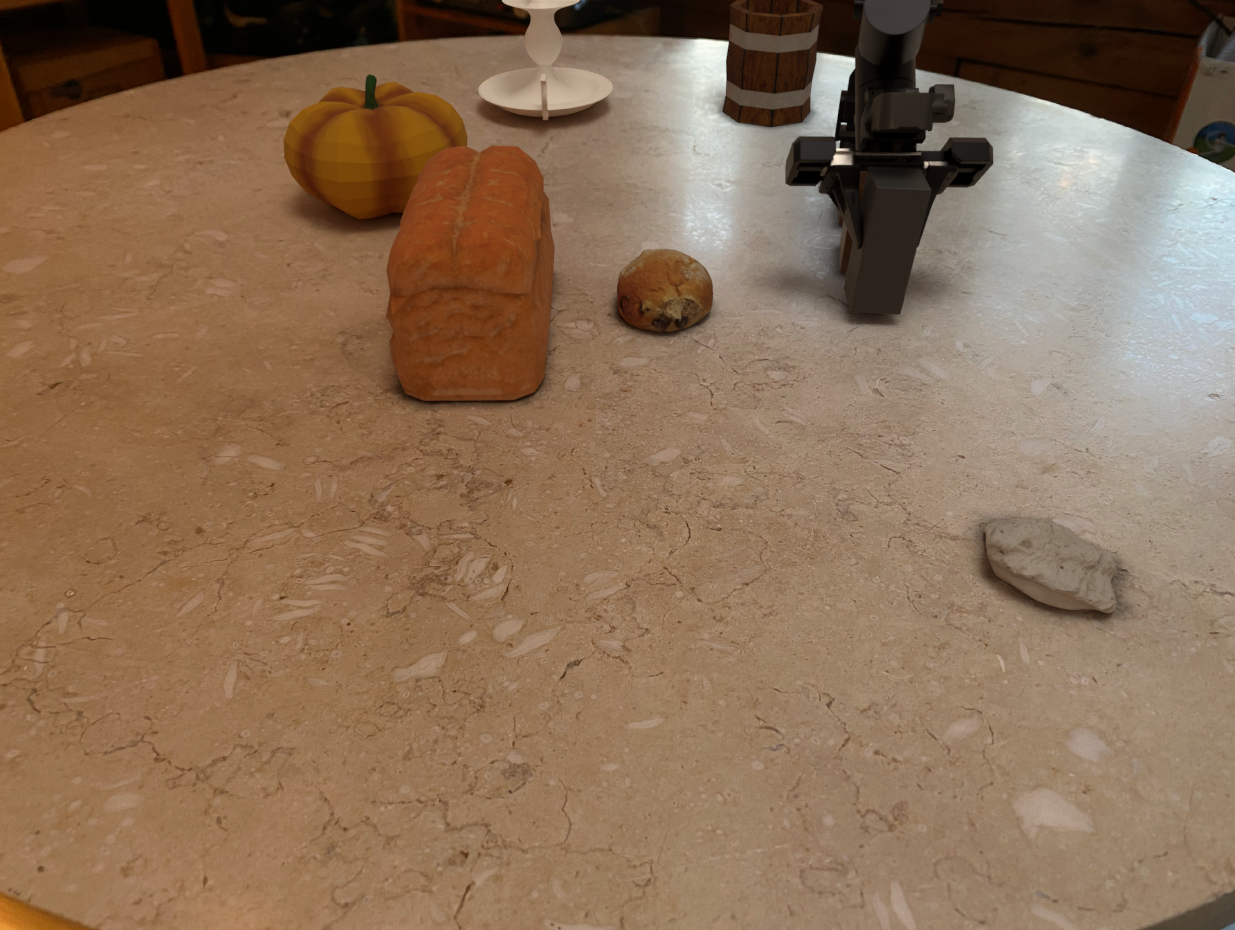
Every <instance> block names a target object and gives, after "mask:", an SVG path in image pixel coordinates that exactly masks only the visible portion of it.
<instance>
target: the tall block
mask: <svg viewBox="0 0 1235 930" xmlns="http://www.w3.org/2000/svg"><path fill="white" fill-rule="evenodd" d="M930 194H931V188H930V186H929V184H928V182H927V181H926V179H925V177H924V175H923V173H922V171H921V169H916V168H893V167H871V166H868V168H867V173H866V178H865V183H864V188H863V193H862V198H861V213H862V223H863V243H862V247H861V248H860V249H856V247H855V245H854V243H852V248H851V253H850V257H849V262H848V267H847V272H846V273H845V278H844V283H843V286H842V287H843V292H844V295H845V298H846V302H847V306H848V309H849V312H850V313H853V314H854V313H855V314H856V313H857V314H858V313H859V314H876V315H895V316H896V315H901V313H902V311H903V305H904V303H905V302H904V301H905V298H906V294H907V290H908V285H909V281H910V277H911V273H912V271H913V265H914V262H915V261H914V260H915V257H916V254H917V250H918V248H917V246H918V242H919V238H920V234H921V230H922V226H923V222H924V218H925V214H926V210H927V206H928V202H929V198H930ZM918 247H919V246H918Z"/></svg>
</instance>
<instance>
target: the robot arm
mask: <svg viewBox="0 0 1235 930" xmlns="http://www.w3.org/2000/svg"><path fill="white" fill-rule="evenodd" d="M943 7H944V0H853V8H852V9H853V10H852V17H851V19H852V20H859V23H858V26H859V34H858V43H857V45H856V46H855V49H854V69H853V70H852V72H851V73H850V74H849V77H848V82H847V89H841V90H840V96H839V102H838V109H837V117H836V125H835V132H834V136H831V135H830V136H827V135H825V136H823V135H821V136H819V135H817V136H816V135H815V136H814V135H813V136H812V135H811V136H810V135H798V136H797V137H796V138H795V140H794V141H793V142H792V143H791V146H790V149H789V152H788V154H787V157H786V160H785V167H784V168H785V169H784V176H785V177H784V178H785V179H784V180H785V181H784V182H785V184H784V185H787V186H788V187H817V186H818V185H819V186H818V194H820V195H827V196H828V197H829V199H830V200H831V202H832V203H833V205H834V207H835V208H836V210H837V212H838V211H839V213H840V215H841V217H842V219H843V221H844V223H845V225H846V227H847V230H848V232H849V234H850V236H851V238H852V241H853V243H854V245H855V247H856V249H860V248H861V247H862V243H863V223H862V213H861V203H860V193H859V180H860V171H867V168H868V166H871V167H893V168H916V169H921V171H922V173H923V175H924V177H925V179H926V181H927V182H928V184H929V186H930V188H931V194H930V198H929V202H928V206H927V210H926V214H925V218H924V222H923V226H922V230H921V234H920V238H919V242H918V246H917V249H918V248H919V246H920V243H921V240H922V237H923V234H924V231H925V229H926V226H927V222H928V220H929V216H930V213H931V211H932V208H933V204H934V202H935V200H936V198H937V196H938V195H941V194H943V193H944V191H945V190H946V189H947V188H961V189H962V188H966V189H967V188H970V187H973V186H976V184H977V183H978V182H979V181H980V180H981V179H982V177H983V176H984V175H985V174H987V172H988V171H989V170H990V168H991V167H992V166H993V165H994V146H993V145H992V144H991V143H990V142H989V140H988V138H987V137H973V136H971V137H970V136H969V137H965V136H964V137H956V136H955V137H953V136H952V137H951V136H950V137H949V138H947V140H946V142H945V143H944V145H943V146H942V148H941V149H940V150H918V144H919V145H921V144H923V143H924V142H925V140H926V138H927V132H932V131H933V129H934V128H933V127H934V124H946V123H950V122H951V121H952V120H953V118H954V116H955V110H956V92H955V89H956V88H955V84H954V83H935V84H933V85H932V86H930V87H929V88H928V91H927V92H920V88H919V87H917V70H916V69H917V68H916V67H917V65H916V62H917V61H916V58H917V57H916V56H917V55H918V53H919V51H920V49H921V46H922V42H923V38H924V34H925V30H926V27H927V24H934V21H935V18H936V17H937V18H940V17H942V12H943ZM837 142H839V144H838V145H839V146H838V147H837Z"/></svg>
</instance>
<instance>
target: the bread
mask: <svg viewBox="0 0 1235 930" xmlns="http://www.w3.org/2000/svg"><path fill="white" fill-rule="evenodd" d="M544 178H545V177H544V176H543V174H542V171H541V170H540V168H539V166H538V163H537V162H536V160H535V159H534V158H533V157H531V156H530V155H529V154H528V153H527V152H526V151H524V150H523V149H521V148H520V147H519V146H518V145H490V146H489V147H486V148H485V149H482V150H481V151H478V150H476V149H473V148H471V147H469V146H468V145H467V146H459V147H450V148H445V149H443V150H442V151H440V152H439V153H437V154H436V155H435V156H433V157H432V158H430V159H429V160H428V161H427V163H426V164H425V166H424V168H423V169H422V171H421V173H420V174H419V176H418V179H417V184H416V185H414V187H413V190H412V193H411V195H410V198H409V200H408V202H407V205H406V208H405V210H404V213H402V216H401V218H400V221H399V227H400V228H399V230H398V231H397V233H396V236H395V238H394V240H393V243H392V245H391V248H390V251H389V255H388V260H387V265H386V270H385V271H386V276H387V282H388V288H389V296H388V303H387V309H386V313H385V317H386V319H387V321H388V323H389V325H390V327H391V329H392V330H393V331H392V333H391V336H390V339H389V350H390V352H389V353H390V357H391V361H392V363H393V366H394V369H395V372H396V374H397V377H398V379H399V382H400V384H401V387H402V389H403V391H404V393H405V394H406V395H408V396H410V397H413V398H416V399H418V400H421V401H426V402H427V401H431V402H433V401H436V402H437V401H515V400H517V399H521V398H522V397H525V396H528V395H530V394H532V393H535V392H536V391H537V389H538V388H539V387H540V385H541V383H542V382H543V380H544V379H545V376H546V366H547V353H548V341H549V330H550V323H551V314H552V301H553V300H552V298H553V283H554V282H553V281H554V269H555V267H554V266H555V251H556V250H555V248H556V247H555V242H554V238H553V233H552V225H551V222H552V221H551V209H550V198H549V197H548V195H547V194H546V192H545V182H544V181H545V179H544Z"/></svg>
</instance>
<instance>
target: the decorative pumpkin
mask: <svg viewBox="0 0 1235 930" xmlns="http://www.w3.org/2000/svg"><path fill="white" fill-rule="evenodd" d="M377 83H378V79H377V76H375V75H374V74H373V75H372V74H367V75H366V77H365V84H364V87H365V88H364V90H362V89H358V88H354V87H347V86H338V87H331V88H330V89H329V90H328V92H326V94H324V95H323V96H322V98H321V99H319V101H318V102H316V103H314V104H311V105H309V106H307V107H304V108H302V109H301V110H300V111H299V112H298V113H297V114H296V115H295V116H294V117H293V118H292V119H291V120H290V122H289V123H288V126H287V129H286V131H285V134H284V137H283V157H284V160H285V163H286V165H287V168H288V170H289V173H290V175H291V177H292V178H293V179H294V180H295V182H296V183H297V184H298V185H299V186H300V188H302V190H303V191H304V192H305V193H307V194H308V195H310V196H312V197H313V198H314V199H317V200H318V201H320V202H322V203H324V204H325V205H327V206H330V207H336V208H337V209H339V210H340V211H342V212H344V213H345V214H347V215H349V216H351V217H353V218H356V219H358V220H369V219H370V220H371V219H376V218H380V217H381V218H382V217H383V216H385V215H389V214H392V213H393V214H403V213H404V210H405V208H406V205H407V202H408V200H409V198H410V195H411V193H412V190H413V187H414V185H416V184H417V179H418V176H419V174H420V173H421V171H422V169H423V168H424V166H425V164H426V163H427V161H428V160H429V159H430V158H432V157H433V156H435V155H436V154H437V153H439V152H440V151H442V150H443V149H445V148H450V147H459V146H467V147H468V134H467V130H466V126H465V124H464V123H465V122H464V119H463V118H462V117H461V115H460V113H459V112H458V111H457V109H456V108H455V107H454V106H453V105H452V104H451V103H450V102H448V101H446V100H445V99H443V98H442V97H441V96H438V95H437V94H433V93H427V92H421V91H413V90H412V89H410V88H408V87H407V86H405V85H404V84H401V83H399V82H397V81H387V82H384V83H382V84H379V85H377Z"/></svg>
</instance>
